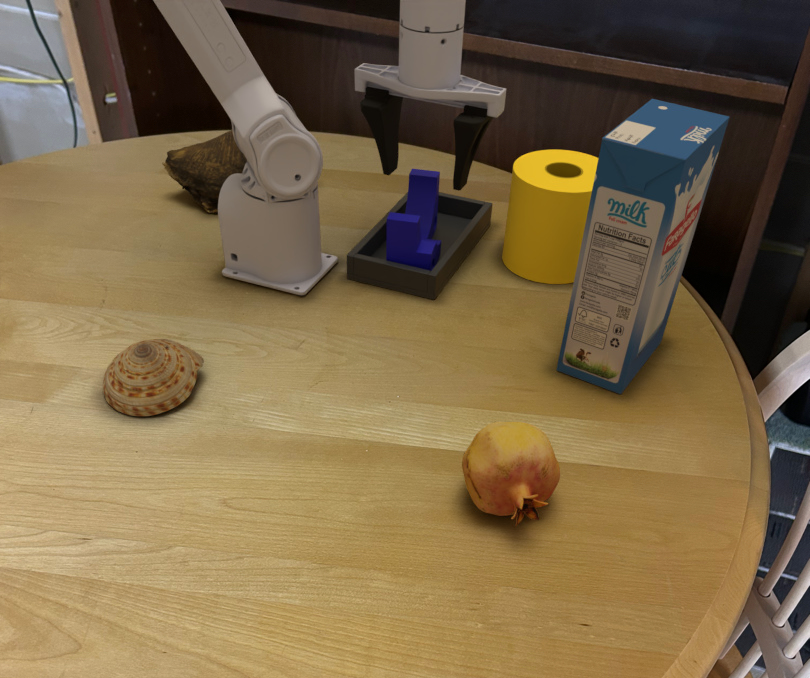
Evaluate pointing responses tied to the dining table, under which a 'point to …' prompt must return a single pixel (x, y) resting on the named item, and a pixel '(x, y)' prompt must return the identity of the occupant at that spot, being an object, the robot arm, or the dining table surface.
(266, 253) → the robot arm
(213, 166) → the seashell
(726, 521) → the dining table surface
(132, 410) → the seashell
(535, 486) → the fruit
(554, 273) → the yellow toilet paper roll
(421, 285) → the holder
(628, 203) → the milk carton
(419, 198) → the blue piece
